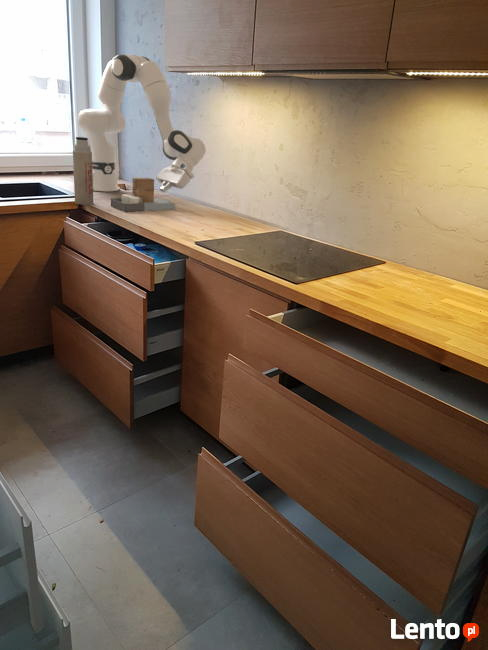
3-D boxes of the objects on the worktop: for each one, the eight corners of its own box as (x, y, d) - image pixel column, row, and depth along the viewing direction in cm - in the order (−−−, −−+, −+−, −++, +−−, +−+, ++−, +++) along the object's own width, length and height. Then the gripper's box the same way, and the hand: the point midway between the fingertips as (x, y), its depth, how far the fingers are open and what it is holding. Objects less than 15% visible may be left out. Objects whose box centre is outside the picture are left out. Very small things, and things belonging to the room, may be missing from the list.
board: (130, 205, 227) (130, 199, 226) (160, 204, 237) (161, 198, 236) (143, 210, 219) (144, 204, 218) (174, 209, 229) (174, 202, 228)
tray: (110, 206, 222) (110, 198, 220) (129, 205, 228) (129, 197, 226) (124, 212, 213) (124, 204, 211) (144, 211, 218) (144, 203, 217)
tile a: (126, 205, 225) (121, 205, 223) (126, 194, 223) (121, 194, 221) (131, 207, 222) (126, 207, 220) (132, 196, 220) (126, 196, 218)
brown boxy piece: (126, 199, 225) (126, 176, 221) (144, 198, 230) (144, 176, 226) (139, 204, 216) (140, 180, 213) (157, 203, 222) (158, 180, 218)
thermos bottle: (97, 203, 224) (95, 138, 213) (82, 205, 218) (79, 137, 207) (86, 200, 228) (84, 136, 217) (71, 202, 222) (68, 136, 211)
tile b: (133, 207, 221) (128, 207, 220) (133, 196, 219) (128, 196, 218) (139, 209, 218) (134, 210, 216) (139, 198, 216) (133, 198, 214)
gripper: (164, 161, 235) (146, 182, 233) (188, 166, 221) (169, 189, 219) (172, 170, 239) (154, 191, 237) (196, 177, 225) (177, 199, 223)
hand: (161, 190), depth 228 cm, fingers closed
